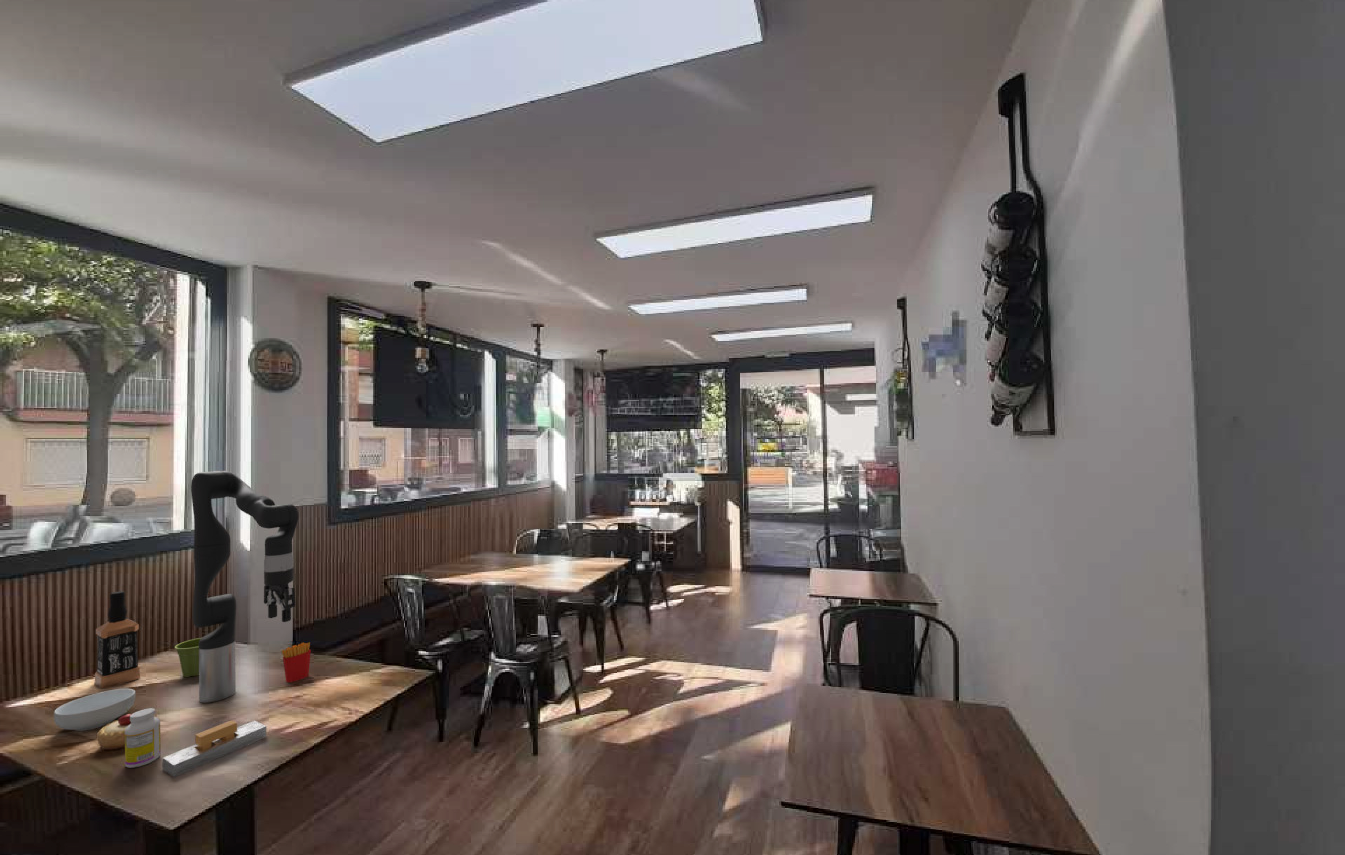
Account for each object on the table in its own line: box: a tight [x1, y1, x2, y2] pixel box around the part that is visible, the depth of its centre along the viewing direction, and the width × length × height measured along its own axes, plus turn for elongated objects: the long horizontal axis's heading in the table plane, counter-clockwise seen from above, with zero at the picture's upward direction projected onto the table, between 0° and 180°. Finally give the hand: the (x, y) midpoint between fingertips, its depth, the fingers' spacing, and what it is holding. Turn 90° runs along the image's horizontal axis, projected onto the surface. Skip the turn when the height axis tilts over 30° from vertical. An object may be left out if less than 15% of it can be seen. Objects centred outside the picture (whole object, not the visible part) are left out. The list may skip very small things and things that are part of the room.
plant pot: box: [174, 637, 202, 678], centre depth 194 cm, size 12×12×11 cm
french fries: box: [281, 642, 312, 683], centre depth 187 cm, size 8×4×12 cm, turn 147°
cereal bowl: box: [53, 688, 136, 732], centre depth 159 cm, size 17×17×7 cm
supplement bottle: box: [124, 707, 162, 769], centre depth 139 cm, size 7×7×13 cm
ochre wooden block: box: [194, 719, 238, 751], centre depth 142 cm, size 3×8×6 cm, turn 151°
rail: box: [162, 720, 267, 778], centre depth 142 cm, size 7×20×3 cm, turn 151°
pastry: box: [96, 708, 158, 751], centre depth 149 cm, size 12×12×9 cm
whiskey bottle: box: [94, 590, 141, 690], centre depth 190 cm, size 10×10×32 cm
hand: (279, 619), depth 165 cm, fingers open, 8 cm apart
